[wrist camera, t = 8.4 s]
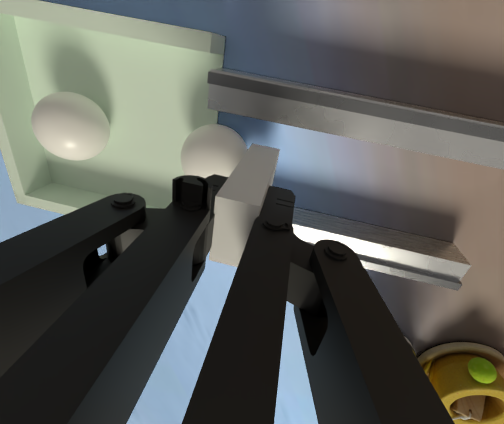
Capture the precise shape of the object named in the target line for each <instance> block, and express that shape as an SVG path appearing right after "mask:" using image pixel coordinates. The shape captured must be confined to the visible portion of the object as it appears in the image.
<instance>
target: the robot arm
mask: <svg viewBox="0 0 504 424" xmlns="http://www.w3.org/2000/svg"><path fill="white" fill-rule="evenodd" d="M279 151H280V149H276V148H272V147H267V146H262V145H257V144H253V143H252V145H251V146H250V148H249V149H248V150H247V152H246V153H245V155H244V156H243V158H242V159H241V160H240V162H239V163H238V165H237V166H236V168H235V169H234V170H233V172H232V173H231V175H230V176H229V177H225V176H221V175H216V174H213V175H211V176H208V177H206V178H203V177H200V176H194V175H183V176H178V177H176V178H174V179H172V202H171V203H170V204H169V205H168V206H167V207H166V208H146V201H145V199H144V198H143V197H141V196H139V195H136V194H133V193H119V194H114V195H110V196H107V197H105V198H103V199H100V200H98V201H96V202H93V203H91V204H89V205H86V206H84V207H82V208H79V209H77V210H75V211H73V212H70V213H68V214H66V215H63V216H61V217H59V218H56V219H54V220H52V221H49V222H47V223H45V224H42V225H40V226H38V227H36V228H33V229H31V230H29V231H26V232H24V233H22V234H19V235H17V236H15V237H12V238H10V239H8V240H5V241H3V242H1V243H0V424H126V423H127V421H128V419H129V417H130V415H131V413H132V411H133V409H134V407H135V405H136V403H137V401H138V399H139V397H140V395H141V394H142V392H143V390H144V388H145V386H146V384H147V382H148V380H149V378H150V376H151V374H152V372H153V370H154V368H155V366H156V364H157V362H158V360H159V358H160V356H161V354H162V352H163V350H164V348H165V346H166V344H167V342H168V340H169V338H170V336H171V334H172V332H173V330H174V328H175V326H176V324H177V322H178V320H179V318H180V316H181V314H182V312H183V310H184V308H185V306H186V304H187V302H188V300H189V299H190V297H191V295H192V293H193V291H194V289H195V287H196V285H197V283H198V281H199V279H200V277H201V275H202V273H203V271H204V268H205V262H206V256H207V254H208V253H209V251H210V255H209V260H211V261H215V262H219V263H223V264H227V265H231V266H235V267H238V268H237V271H236V273H235V276H234V279H233V282H232V285H231V287H230V290H229V293H228V296H227V299H226V301H225V304H224V307H223V310H222V313H221V315H220V318H219V321H218V324H217V327H216V329H215V332H214V335H213V338H212V341H211V343H210V346H209V349H208V352H207V355H206V357H205V360H204V363H203V366H202V369H201V371H200V374H199V377H198V380H197V383H196V385H195V388H194V391H193V394H192V397H191V399H190V402H189V405H188V408H187V411H186V413H185V416H184V419H183V422H182V424H274V416H275V407H276V397H277V387H278V378H279V368H280V358H281V349H282V339H283V329H284V320H285V310H286V301H288V302H290V303H292V304H293V305H294V314H295V318H296V323H297V327H298V332H299V337H300V341H301V346H302V350H303V355H304V360H305V364H306V369H307V373H308V378H309V383H310V387H311V392H312V396H313V401H314V405H315V410H316V415H317V419H318V424H455V423H454V421H453V420H452V418H451V416H450V414H449V413H448V411H447V409H446V407H445V406H444V404H443V402H442V401H441V399H440V397H439V395H438V394H437V392H436V390H435V389H434V387H433V385H432V383H431V382H430V380H429V378H428V376H427V375H426V373H425V371H424V370H423V368H422V366H421V364H420V363H419V361H418V359H417V358H416V356H415V354H414V352H413V351H412V349H411V347H410V345H409V344H408V342H407V340H406V339H405V337H404V335H403V333H402V332H401V330H400V328H399V327H398V325H397V323H396V321H395V320H394V318H393V316H392V314H391V313H390V311H389V309H388V308H387V306H386V304H385V302H384V301H383V299H382V297H381V296H380V294H379V292H378V290H377V289H376V287H375V285H374V283H373V282H372V280H371V278H370V277H369V275H368V273H367V271H366V270H365V268H364V266H363V265H362V263H361V261H360V259H359V258H358V256H357V254H356V253H355V252H354V251H353V250H352V249H351V248H350V247H348V246H347V245H346V244H344V243H342V242H339V241H336V240H331V239H322V240H319V241H317V242H316V244H315V245H314V246H313V245H311V244H309V243H307V242H305V241H303V240H301V239H300V238H299V237H297V236H296V234H295V233H294V229H293V225H292V221H293V212H294V203H295V195H294V194H293V192H292V191H291V190H287V189H282V188H278V187H274V186H272V184H273V179H274V174H275V170H276V165H277V160H278V156H279ZM104 244H106V249H107V253H105V254H104V255H101V256H99V255H98V251H97V248H99V247H101V246H102V245H104Z"/></svg>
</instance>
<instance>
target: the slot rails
mask: <svg viewBox="0 0 504 424" xmlns="http://www.w3.org/2000/svg"><path fill="white" fill-rule="evenodd" d="M207 83H209V93H208V106H207V109H212V110H217V111H222V112H227V113H232V114H236V115H241V116H246V117H251V118H256V119H261V120H266V121H270V122H275V123H280V124H285V125H290V126H295V127H300V128H304V129H309V130H314V131H319V132H324V133H329V134H334V135H338V136H343V137H348V138H353V139H358V140H363V141H368V142H372V143H377V144H382V145H387V146H392V147H397V148H402V149H406V150H411V151H416V152H421V153H426V154H431V155H436V156H440V157H445V158H450V159H455V160H460V161H465V162H470V163H474V164H479V165H484V166H489V167H494V168H499V169H504V122H499V121H494V120H489V119H483V118H478V117H473V116H468V115H463V114H458V113H452V112H447V111H442V110H437V109H432V108H427V107H422V106H416V105H411V104H406V103H401V102H396V101H391V100H385V99H380V98H375V97H370V96H365V95H360V94H354V93H349V92H344V91H339V90H334V89H329V88H324V87H318V86H313V85H308V84H303V83H298V82H293V81H287V80H282V79H277V78H272V77H267V76H262V75H257V74H251V73H246V72H241V71H236V70H231V69H226V68H216V69H210V71H208V80H207ZM292 225H293V229H294V233H295V234H296V236H297V237H299V238H300V239H301V240H303V241H305V242H307V243H309V244H311V245H313V246H314V245H315V244H316V242H317V241H319V240H322V239H331V240H336V241H339V242H342V243H344V244H346V245H347V246H348V247H350V248H351V249H352V250H353V251H354V252H355V253H356V254H357V256H358V258H359V259H360V261H361V263H362V265H363V266H364V268H365V269H370V270H374V271H378V272H382V273H386V274H390V275H395V276H399V277H403V278H407V279H411V280H415V281H420V282H424V283H428V284H432V285H436V286H441V287H445V288H449V289H453V290H457V291H458V290H459V288H460V287H461V286H462V283H461V282H460V280H461V279H462V277H463V276H464V275H465V273H466V272H467V271H468V269H469V268H470V267H471V265H470V263H469V262H468V261H467V260H466V258H465V257H464V256H463V255H462V253H461V252H460V251H459V250H458V248H457V247H456V246H455V245H454V243H450V242H446V241H442V240H437V239H433V238H428V237H424V236H420V235H415V234H411V233H406V232H402V231H398V230H393V229H389V228H384V227H380V226H376V225H371V224H367V223H362V222H358V221H354V220H349V219H345V218H340V217H336V216H332V215H327V214H323V213H318V212H314V211H310V210H305V209H301V208H296V207H294V212H293V221H292Z"/></svg>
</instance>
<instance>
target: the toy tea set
mask: <svg viewBox="0 0 504 424" xmlns="http://www.w3.org/2000/svg"><path fill="white" fill-rule="evenodd" d="M418 361H419V363H420V364H421V366H422V368H423V370H424V371H425V373H426V375H427V376H428V378H429V380H430V382H431V383H432V385H433V387H434V389H435V390H436V392H437V394H438V395H439V397H440V399H441V401H442V402H443V404H444V406H445V407H446V409H447V411H448V413H449V414H450V416H451V418H452V420H453V421H454V423H455V424H504V356H503V355H502V354H501V353H500V352H498V351H497V350H495V349H493V348H491V347H488V346H485V345H482V344H477V343H469V342H454V343H447V344H442V345H439V346H436V347H433V348H431V349H429V350H427V351H425V352H424V353H423V354H422V355H420V356H419V357H418Z"/></svg>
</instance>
